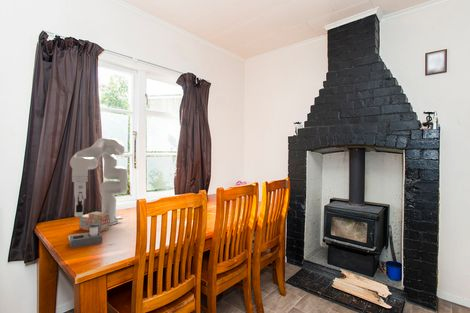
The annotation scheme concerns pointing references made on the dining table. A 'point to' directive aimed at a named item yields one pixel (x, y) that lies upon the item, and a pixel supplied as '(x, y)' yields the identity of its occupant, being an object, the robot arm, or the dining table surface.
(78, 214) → the plug
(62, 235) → the dining table surface
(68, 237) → the tray
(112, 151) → the robot arm
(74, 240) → the socket strip
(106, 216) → the stack of blocks
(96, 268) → the dining table surface
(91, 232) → the grey capped white peg
